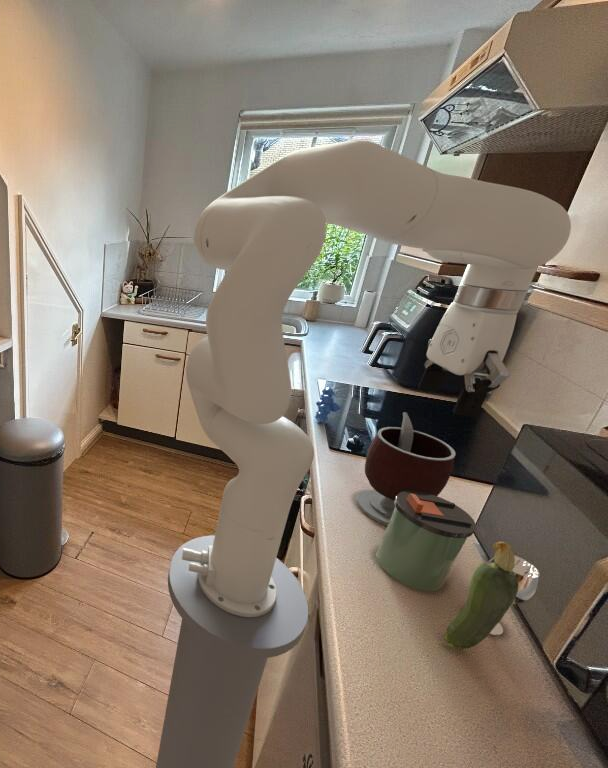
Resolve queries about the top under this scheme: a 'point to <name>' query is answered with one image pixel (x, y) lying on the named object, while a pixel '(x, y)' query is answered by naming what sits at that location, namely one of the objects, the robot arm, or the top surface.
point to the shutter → (423, 506)
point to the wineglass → (521, 585)
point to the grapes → (326, 405)
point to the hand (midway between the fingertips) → (445, 401)
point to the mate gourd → (403, 468)
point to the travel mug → (423, 541)
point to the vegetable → (485, 600)
